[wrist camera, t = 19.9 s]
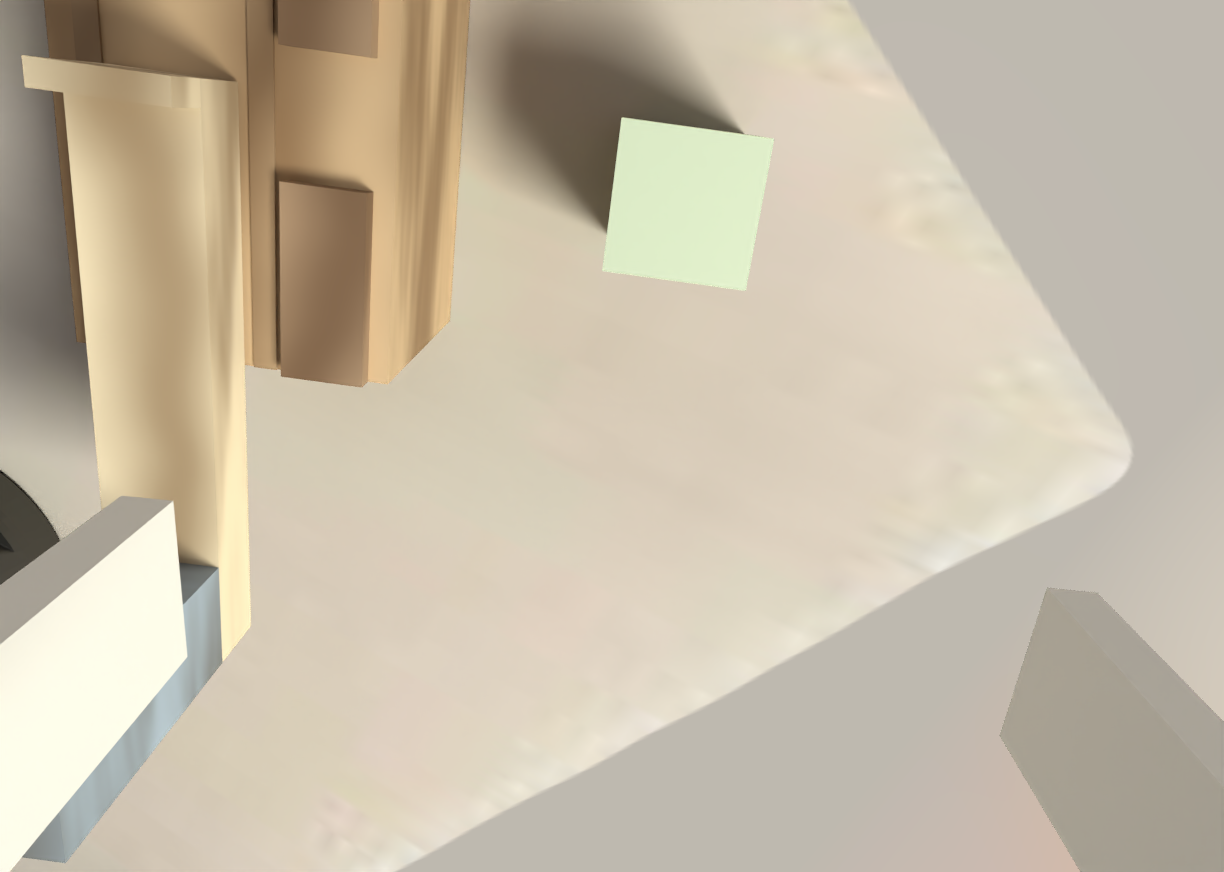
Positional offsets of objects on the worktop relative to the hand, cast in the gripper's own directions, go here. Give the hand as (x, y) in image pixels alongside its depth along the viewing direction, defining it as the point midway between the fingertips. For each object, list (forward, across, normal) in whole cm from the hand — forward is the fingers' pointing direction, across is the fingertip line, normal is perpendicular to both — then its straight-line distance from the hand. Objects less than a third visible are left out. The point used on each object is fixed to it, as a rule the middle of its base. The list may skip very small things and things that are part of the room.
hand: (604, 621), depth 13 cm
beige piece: (+17, -15, -3) cm, 23 cm away
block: (+27, +2, +5) cm, 28 cm away
